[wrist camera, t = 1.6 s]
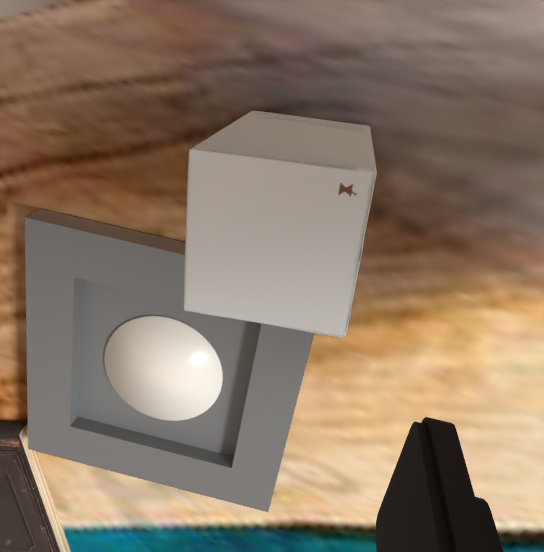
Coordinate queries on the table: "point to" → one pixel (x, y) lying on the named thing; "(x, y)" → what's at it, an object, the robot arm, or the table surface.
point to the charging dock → (150, 366)
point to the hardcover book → (25, 497)
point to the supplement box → (278, 221)
